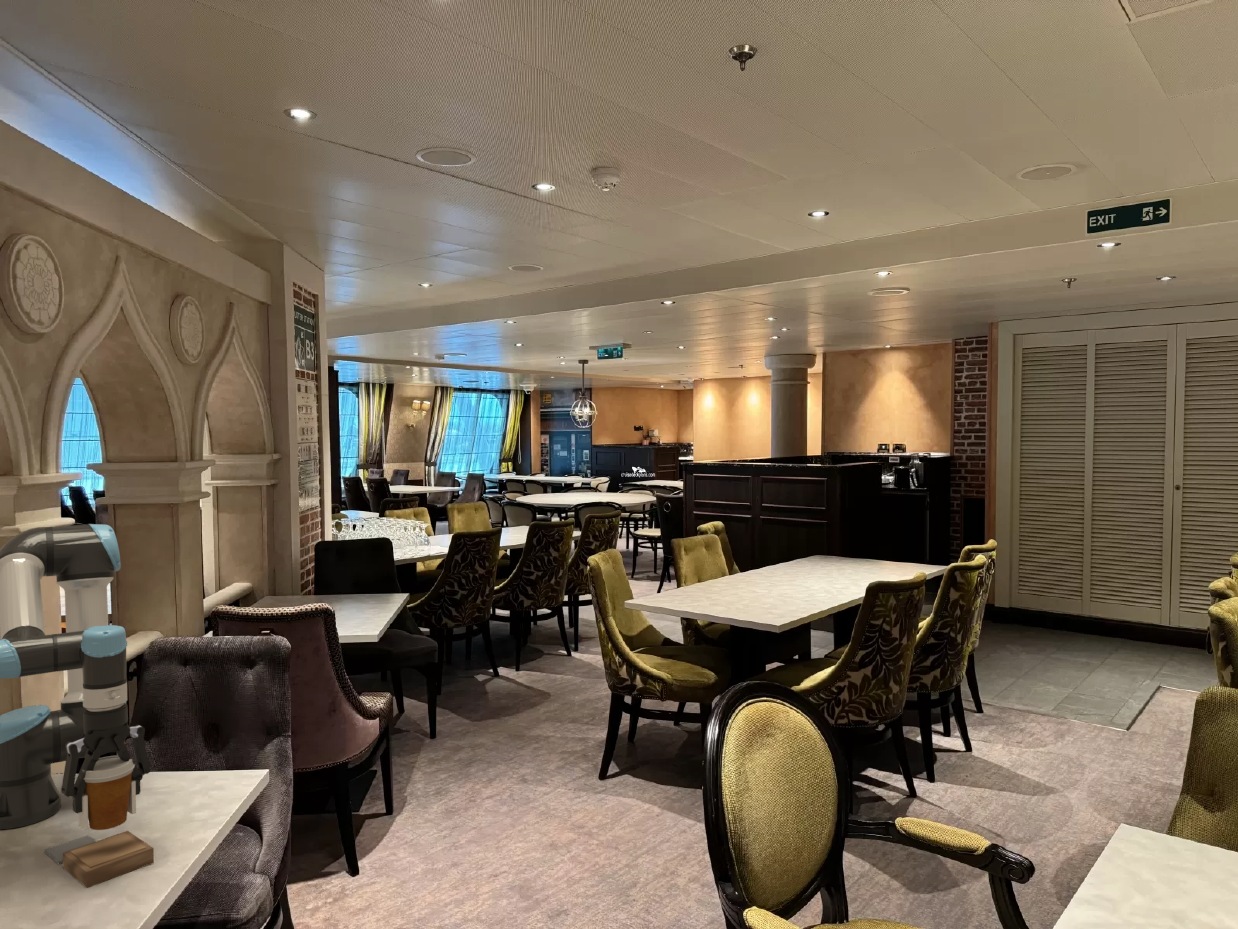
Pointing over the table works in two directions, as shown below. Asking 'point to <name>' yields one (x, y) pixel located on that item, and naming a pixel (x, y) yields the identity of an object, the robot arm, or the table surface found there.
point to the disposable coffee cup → (108, 792)
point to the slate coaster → (67, 848)
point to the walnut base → (107, 858)
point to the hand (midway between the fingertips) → (107, 819)
